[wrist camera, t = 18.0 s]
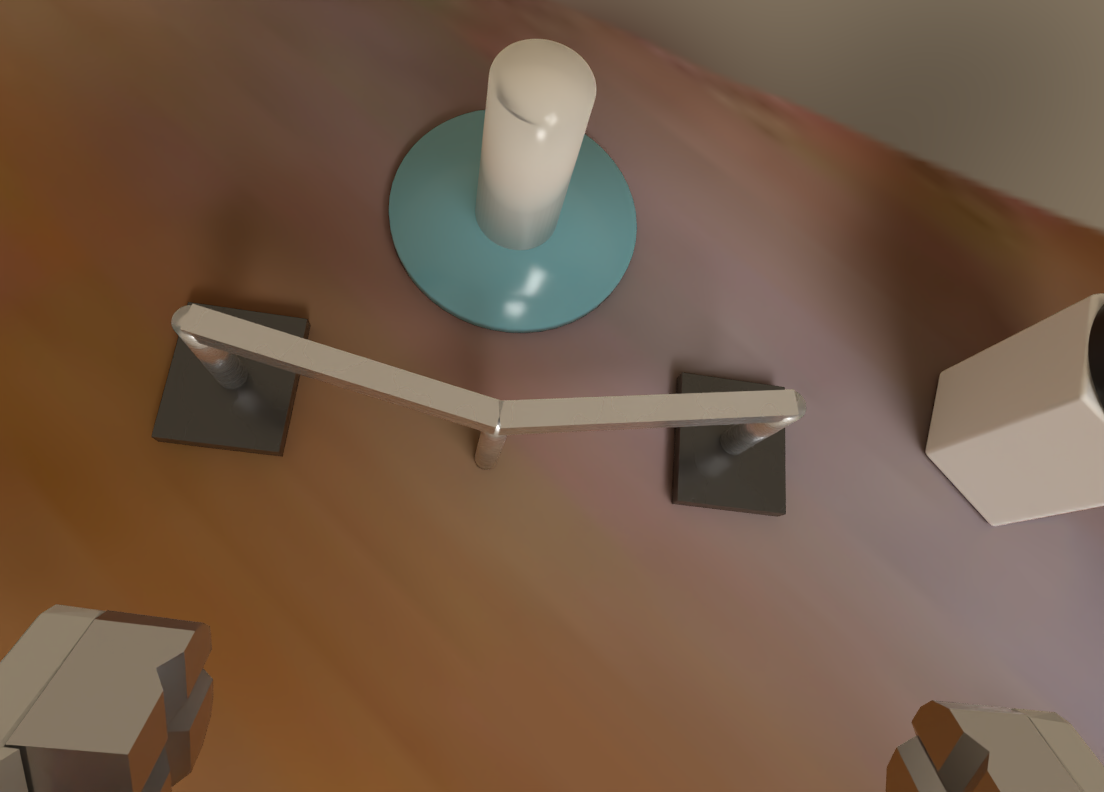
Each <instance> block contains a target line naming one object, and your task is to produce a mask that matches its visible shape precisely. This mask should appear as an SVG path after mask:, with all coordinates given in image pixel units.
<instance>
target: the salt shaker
mask: <svg viewBox="0 0 1104 792" xmlns="http://www.w3.org/2000/svg"><path fill="white" fill-rule="evenodd" d="M595 97H596V82H595V78H594V75H593V72H592V71H591V69H590V67H589V66H588V64H587V63H586V61H585V60H584V59H583V58H582V57H581V56H580V55H579V54H577V53H576V52H575V51H573V50H572V49H570V48H569V47H567V46H565V45H563V44H560V43H558V42H554V41H551V40H546V39H527V40H522V41H518V42H515V43H513V44H511V45H509V46H507V47H506V48H504V49H503V50H502V51H501V52H500V53H499V54H498V55H497V56H496V57H495V59H494V61H493V63H492V65H491V68H490V72H489V80H488V90H487V99H486V109H485V119H484V129H483V139H482V148H481V158H480V168H479V178H478V188H477V197H476V207H475V214H476V219H477V223H478V225H479V227H480V229H481V230H482V232H483V233H484V234H485V236H487V237H488V238H489V239H490V240H491V241H492V242H494V243H496V244H497V245H499V246H502V247H504V248H507V249H512V250H528V249H532V248H535V247H537V246H540V245H541V244H543V243H544V242H546V241H547V240H548V239H549V238H550V237H551V235H552V234H553V232H554V231H555V228H556V225H557V222H558V219H559V216H560V212H561V209H562V206H563V203H564V199H565V196H566V193H567V189H568V186H569V183H570V180H571V176H572V173H573V170H574V167H575V163H576V160H577V157H578V153H579V150H580V147H581V144H582V140H583V137H584V134H585V131H586V127H587V124H588V121H589V117H590V114H591V111H592V108H593V104H594V101H595Z"/></svg>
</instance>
